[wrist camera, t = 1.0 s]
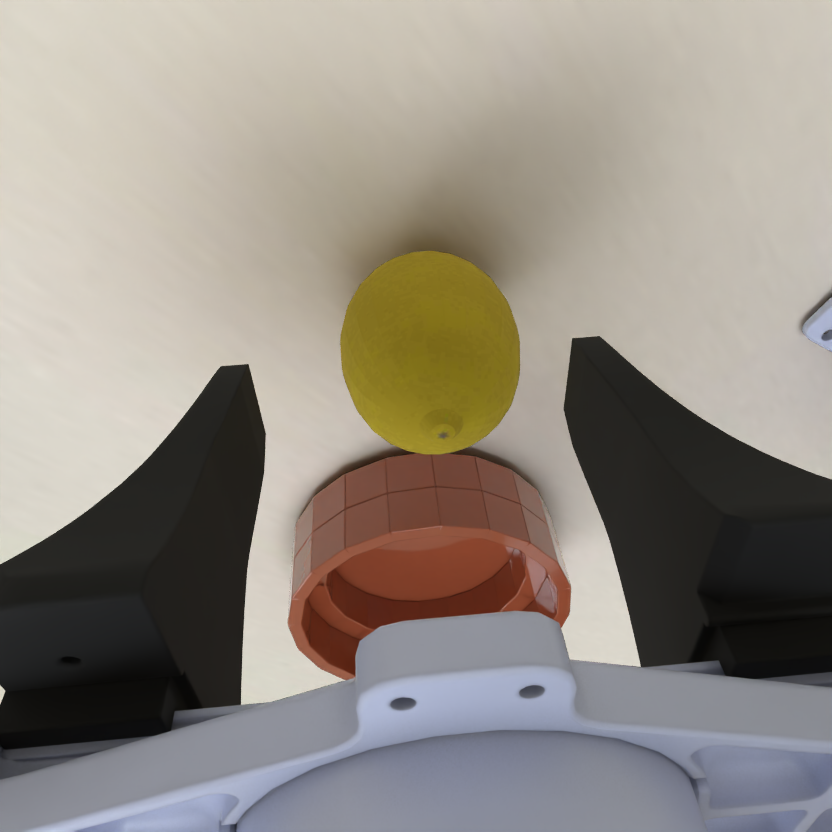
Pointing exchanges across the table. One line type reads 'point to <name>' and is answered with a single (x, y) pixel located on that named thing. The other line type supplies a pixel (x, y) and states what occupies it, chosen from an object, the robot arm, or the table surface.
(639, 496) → the robot arm
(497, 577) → the bowl
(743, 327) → the table surface
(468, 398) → the lemon
